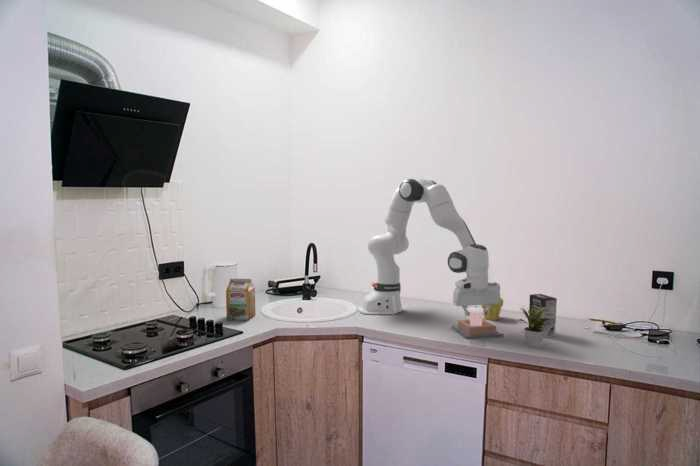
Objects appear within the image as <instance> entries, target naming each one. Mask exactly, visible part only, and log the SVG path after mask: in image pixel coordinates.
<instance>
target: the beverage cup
mask: <svg viewBox="0 0 700 466" xmlns="http://www.w3.org/2000/svg"><path fill="white" fill-rule="evenodd" d="M474 306H475V307H474ZM474 306H473V307H469V308H467V311H469V312H470V316H469V320H470V325H471V326H482V319H483V316H484V315H483V309H482V307H479V306H478V307H477V305H474Z"/></svg>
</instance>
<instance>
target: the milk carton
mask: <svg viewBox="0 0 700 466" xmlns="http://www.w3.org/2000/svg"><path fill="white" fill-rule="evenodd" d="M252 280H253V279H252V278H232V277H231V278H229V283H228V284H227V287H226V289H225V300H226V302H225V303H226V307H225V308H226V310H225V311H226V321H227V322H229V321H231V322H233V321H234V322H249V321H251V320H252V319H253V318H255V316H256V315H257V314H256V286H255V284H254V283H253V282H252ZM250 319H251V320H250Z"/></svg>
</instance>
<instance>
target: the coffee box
mask: <svg viewBox="0 0 700 466" xmlns="http://www.w3.org/2000/svg"><path fill="white" fill-rule="evenodd" d="M557 301H558V300H557V298H556V297H553V296H550V295H546V294H542V293H538V294H537V293H533V294H529V308H528V310H529V311H530V312H531V313H532V308H533V309H534V306H535V304H536V306H535V315H536V313H537V312H538V310H540V309H541V308H544V307H546V308H545V309H544V311H543V313H542V314H541V316H540V318H548V319H552V320H547V321H545V322H544V324H546V323H549V324H551V326H550V325H549V324H546V325H547V326H544V325H542V326H541V327H540V328H541V329H543V330H544V333H543V337H542V338H549V337H555V336H556V322H557V321H556V319H557ZM531 307H532V308H531ZM549 311H551V312H549ZM547 312H548V313H547ZM538 313H539V312H538ZM538 313H537V314H538ZM545 313H546V314H545ZM544 314H545V315H544ZM528 315H529V316H530V314H529V313H528ZM542 315H544V316H542ZM536 316H537V315H536ZM535 318H536V317H535ZM540 318H539V319H540ZM541 320H542V319H541ZM539 321H540V320H538V322H539ZM542 324H543V323H542ZM528 325H529V324H528ZM528 327H530V325H529V326H528Z"/></svg>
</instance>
